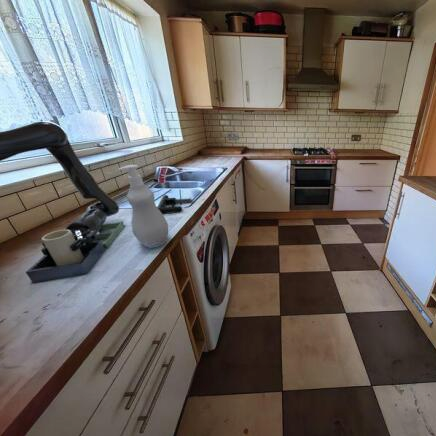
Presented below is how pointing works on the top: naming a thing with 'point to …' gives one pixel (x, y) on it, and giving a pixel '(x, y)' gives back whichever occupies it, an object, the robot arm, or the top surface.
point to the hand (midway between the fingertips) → (59, 250)
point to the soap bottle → (145, 212)
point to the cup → (62, 247)
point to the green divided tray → (110, 233)
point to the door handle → (171, 201)
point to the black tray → (50, 270)
